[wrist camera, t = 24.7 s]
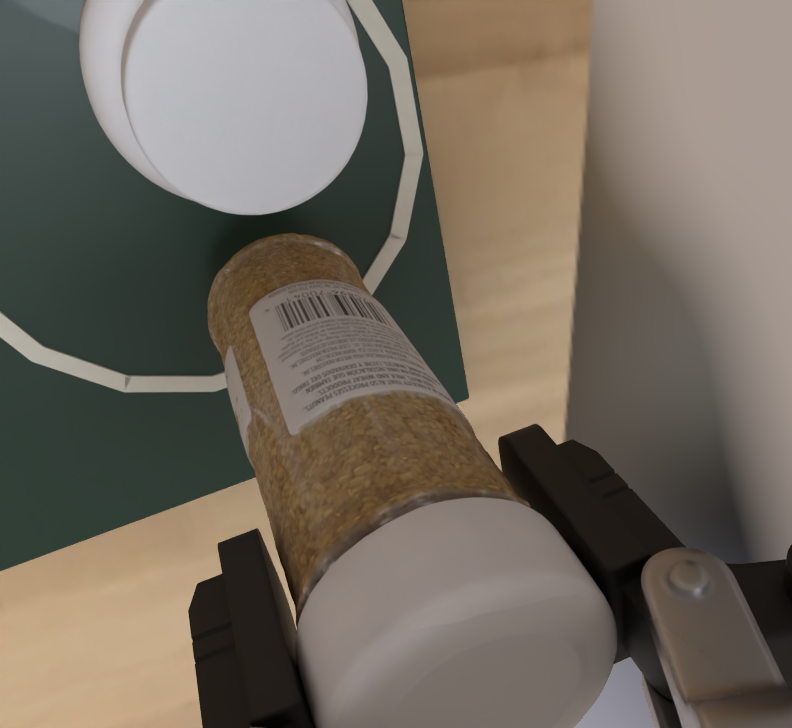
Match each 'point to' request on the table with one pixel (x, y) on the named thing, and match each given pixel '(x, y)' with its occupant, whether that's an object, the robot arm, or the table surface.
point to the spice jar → (395, 515)
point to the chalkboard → (166, 286)
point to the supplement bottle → (227, 95)
